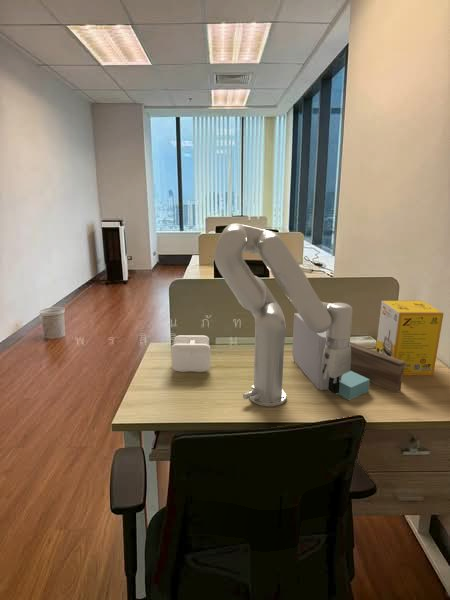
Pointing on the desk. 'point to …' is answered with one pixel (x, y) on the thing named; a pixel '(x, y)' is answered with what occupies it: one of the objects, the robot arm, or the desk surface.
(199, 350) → the cable organizer
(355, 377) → the teal block
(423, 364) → the packaging box
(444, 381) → the desk surface
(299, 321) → the game console
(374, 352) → the walnut board
